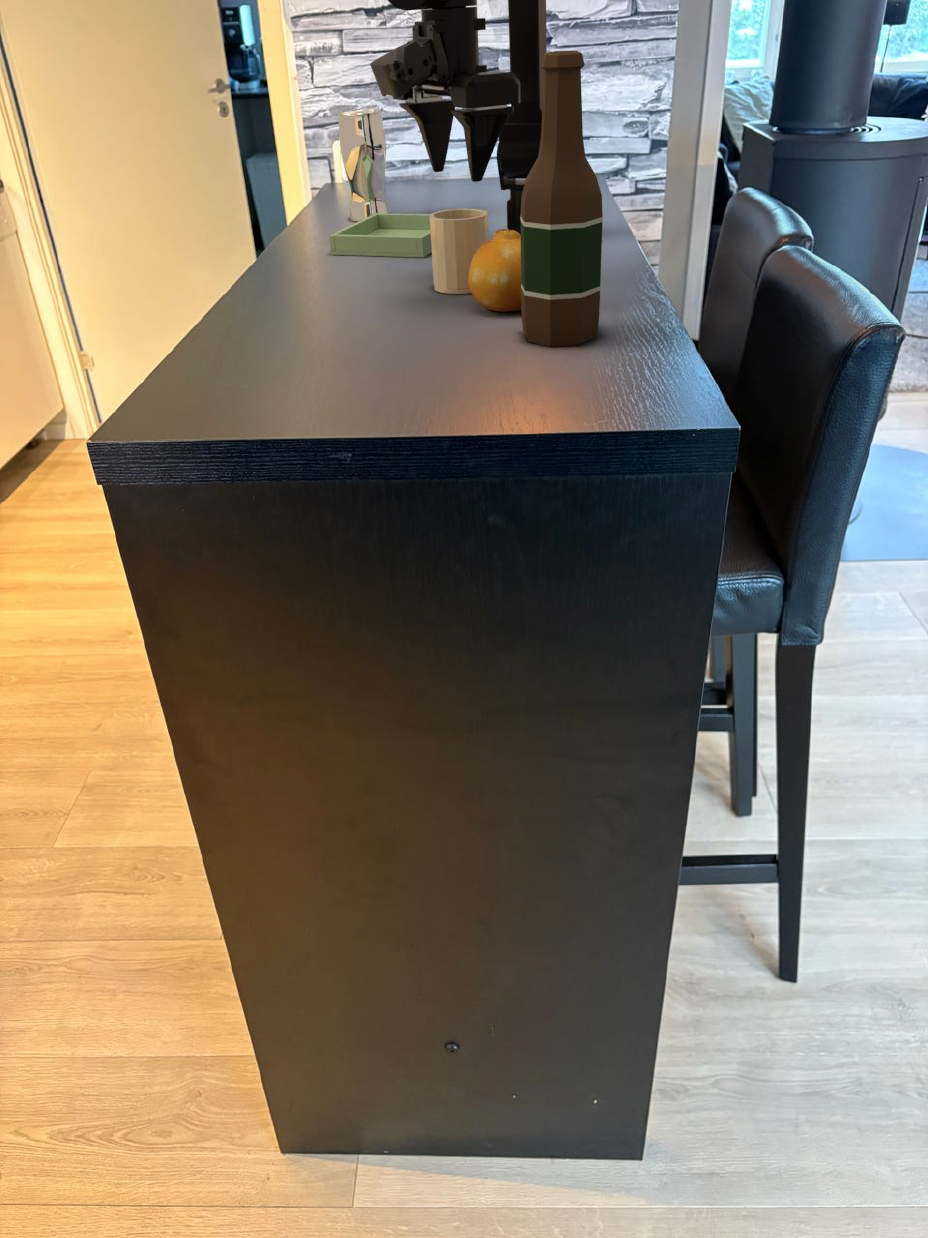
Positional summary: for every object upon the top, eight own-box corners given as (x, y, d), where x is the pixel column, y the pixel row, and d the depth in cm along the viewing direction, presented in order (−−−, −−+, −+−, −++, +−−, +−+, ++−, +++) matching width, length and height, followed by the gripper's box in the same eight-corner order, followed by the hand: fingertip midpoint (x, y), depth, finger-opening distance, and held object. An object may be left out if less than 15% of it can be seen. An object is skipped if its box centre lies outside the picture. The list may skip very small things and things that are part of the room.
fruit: (496, 269, 106) (482, 212, 99) (562, 281, 103) (552, 222, 96) (466, 323, 103) (450, 268, 96) (533, 337, 100) (521, 281, 93)
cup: (497, 280, 111) (495, 208, 107) (479, 295, 106) (477, 220, 102) (445, 278, 113) (441, 207, 109) (425, 292, 108) (420, 219, 104)
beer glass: (385, 222, 145) (375, 113, 136) (342, 222, 146) (330, 114, 138) (396, 213, 150) (388, 108, 142) (355, 214, 152) (344, 109, 143)
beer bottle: (606, 326, 94) (617, 47, 81) (589, 349, 88) (598, 52, 74) (532, 322, 96) (530, 50, 83) (510, 345, 90) (505, 55, 77)
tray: (462, 232, 135) (461, 214, 134) (423, 257, 123) (422, 237, 122) (376, 230, 139) (375, 213, 138) (330, 254, 127) (328, 235, 126)
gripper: (341, 13, 98) (357, 175, 107) (416, 10, 85) (428, 196, 93) (435, 8, 103) (443, 164, 111) (522, 4, 89) (524, 183, 97)
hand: (456, 176), depth 103 cm, fingers open, 9 cm apart
